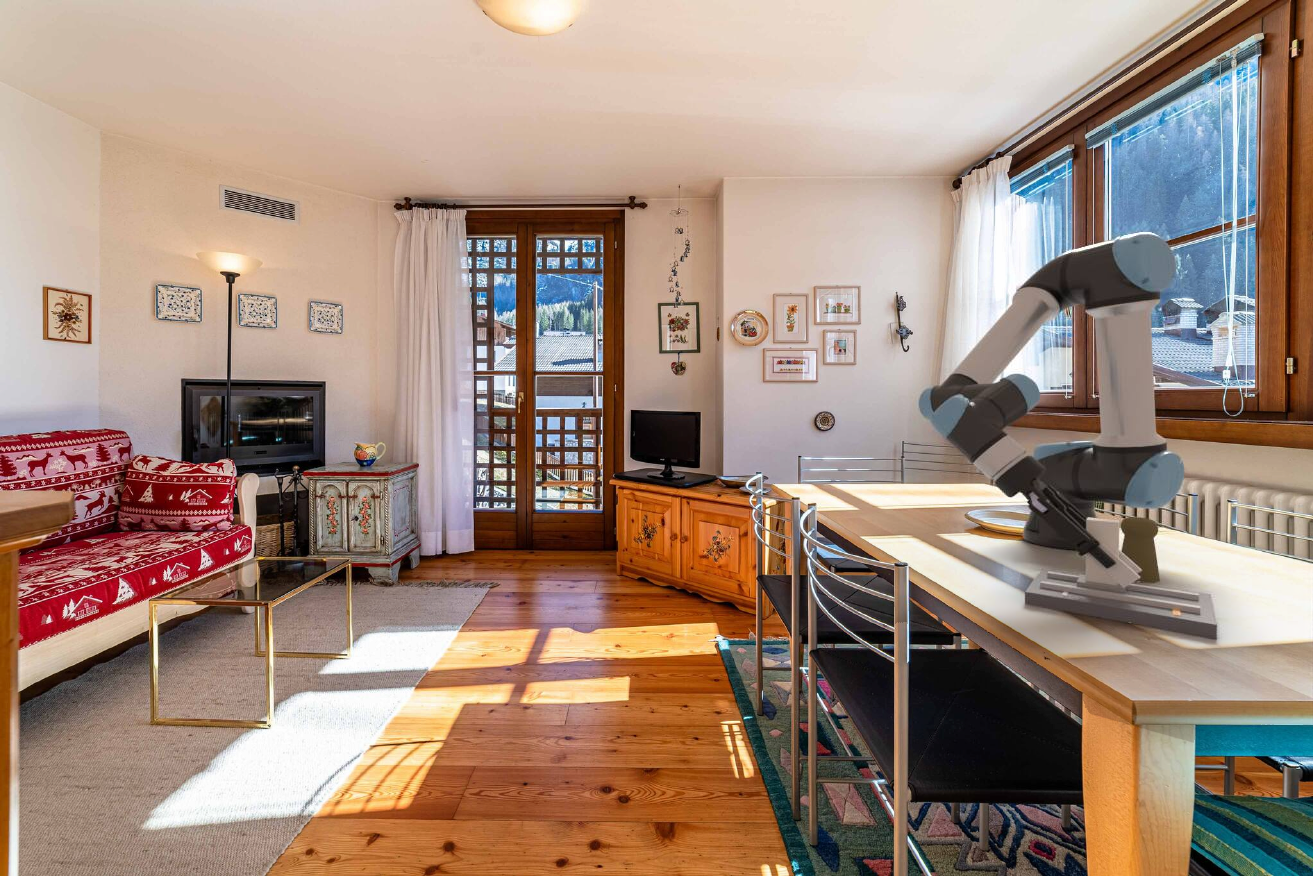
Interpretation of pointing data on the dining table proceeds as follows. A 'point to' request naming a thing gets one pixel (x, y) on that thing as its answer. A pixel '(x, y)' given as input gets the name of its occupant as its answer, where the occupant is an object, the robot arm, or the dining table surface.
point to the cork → (1141, 546)
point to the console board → (1127, 603)
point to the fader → (1094, 574)
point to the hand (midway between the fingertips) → (1132, 578)
